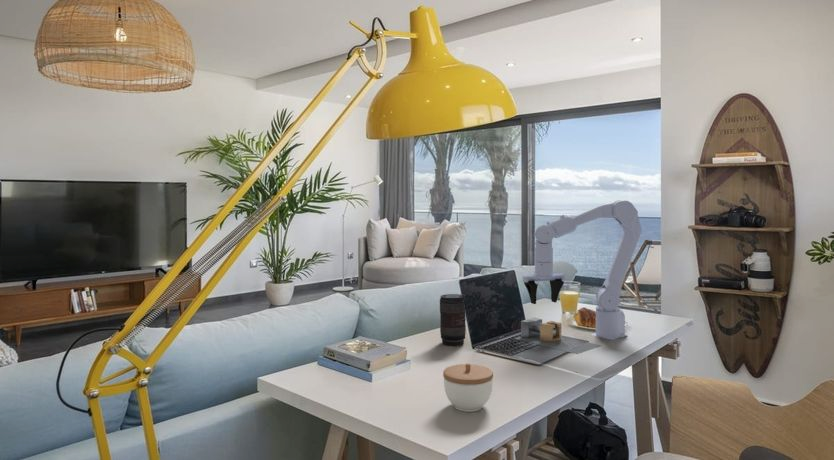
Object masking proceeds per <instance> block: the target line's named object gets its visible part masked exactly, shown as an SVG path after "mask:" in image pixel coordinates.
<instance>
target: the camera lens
mask: <svg viewBox="0 0 834 460" xmlns="http://www.w3.org/2000/svg"><path fill="white" fill-rule="evenodd" d="M462 295H463V294H460V293H459V294H458V293H449V294H448V293H447V294H442V295H440V299H439V313H440V317H439V318H440V320H439V321H440V322H439V323H440V324H439V325H440V326H439V327H440V328H439V329H440V339H441V342H442V344H443V345H445V346H447V347H448V346H449V347H457V346H458V347H459V346H463V345H464V343H465V339H466V334H467V333H466V331H467V328H466V313H465V307H464V303H465V302H463V298H464V297H462ZM464 301H465V300H464Z"/></svg>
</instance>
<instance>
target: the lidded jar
mask: <svg viewBox="0 0 834 460" xmlns="http://www.w3.org/2000/svg"><path fill="white" fill-rule="evenodd" d="M442 376H443V387H444V392H445V395H446V397H447V399H448V401H449V402H450V403H451V404H452V405H453V406H454V409H456V410H458V411H460V412H464V413H465V412H466V413H473V412H478V411H480V410H482V409H483V407H484V406H485V405H486V404H487V402H488V401H489V400H490V398H491V395H492V392H493V391H492V390H493V382H494V381H493V379H494V371H493V370H492V369H491V368H489V367H487V366H484V365H479V364H473V363H469V362H468V363H467V362H466V363H464V364H463V363H462V364H460V363H459V364H454V365H451V366H448V367H446V368H444V370H443V375H442Z"/></svg>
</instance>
